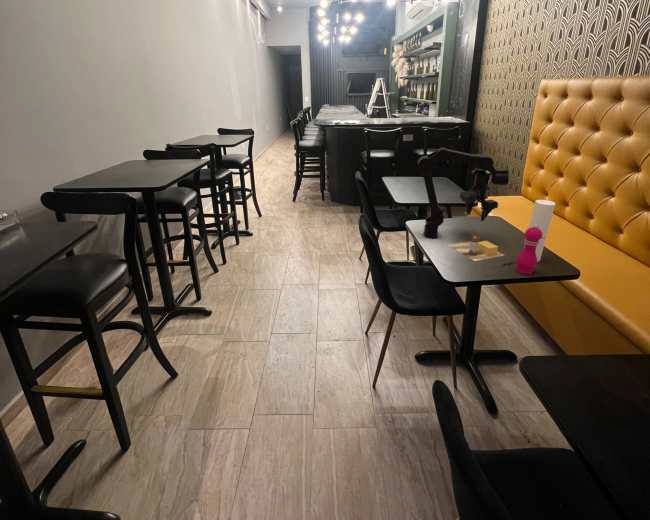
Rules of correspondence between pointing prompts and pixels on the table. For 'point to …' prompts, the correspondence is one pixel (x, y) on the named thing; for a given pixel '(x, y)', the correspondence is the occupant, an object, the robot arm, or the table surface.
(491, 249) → the mustard yellow box
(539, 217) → the cylindrical container
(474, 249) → the bronze metal canister
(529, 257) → the pink bowling pin
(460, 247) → the board
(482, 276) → the table surface
